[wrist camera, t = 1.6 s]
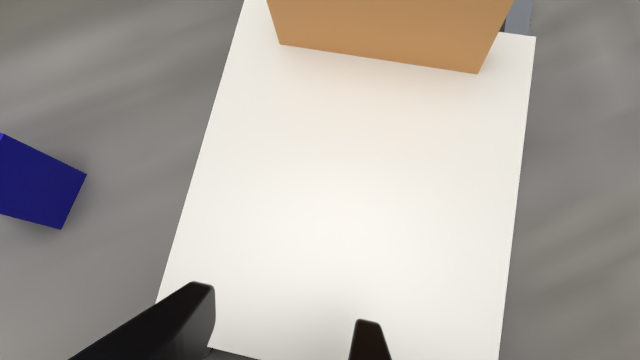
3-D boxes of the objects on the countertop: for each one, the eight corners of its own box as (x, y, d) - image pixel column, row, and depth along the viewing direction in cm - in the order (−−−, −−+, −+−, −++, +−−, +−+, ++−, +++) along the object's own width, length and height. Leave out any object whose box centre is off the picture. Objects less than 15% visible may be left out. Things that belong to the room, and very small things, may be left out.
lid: (485, 411, 16) (661, 556, 7) (156, 330, 18) (-78, 354, 8) (529, 47, 19) (687, -199, 10) (249, 8, 21) (160, -237, 12)
